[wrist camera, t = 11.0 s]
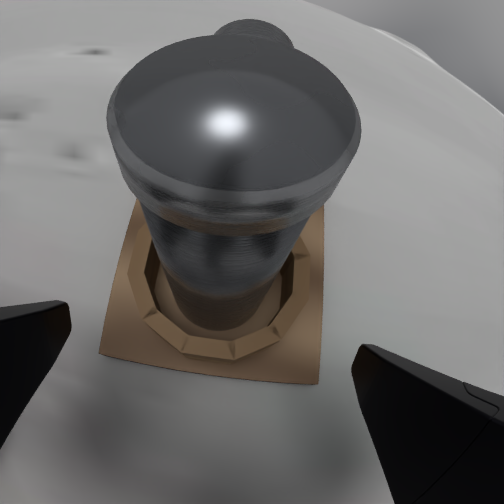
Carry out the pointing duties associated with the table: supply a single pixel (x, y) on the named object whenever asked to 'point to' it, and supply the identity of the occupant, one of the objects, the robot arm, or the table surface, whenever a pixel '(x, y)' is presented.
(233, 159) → the pipe fitting
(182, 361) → the duct plate
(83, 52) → the table surface
